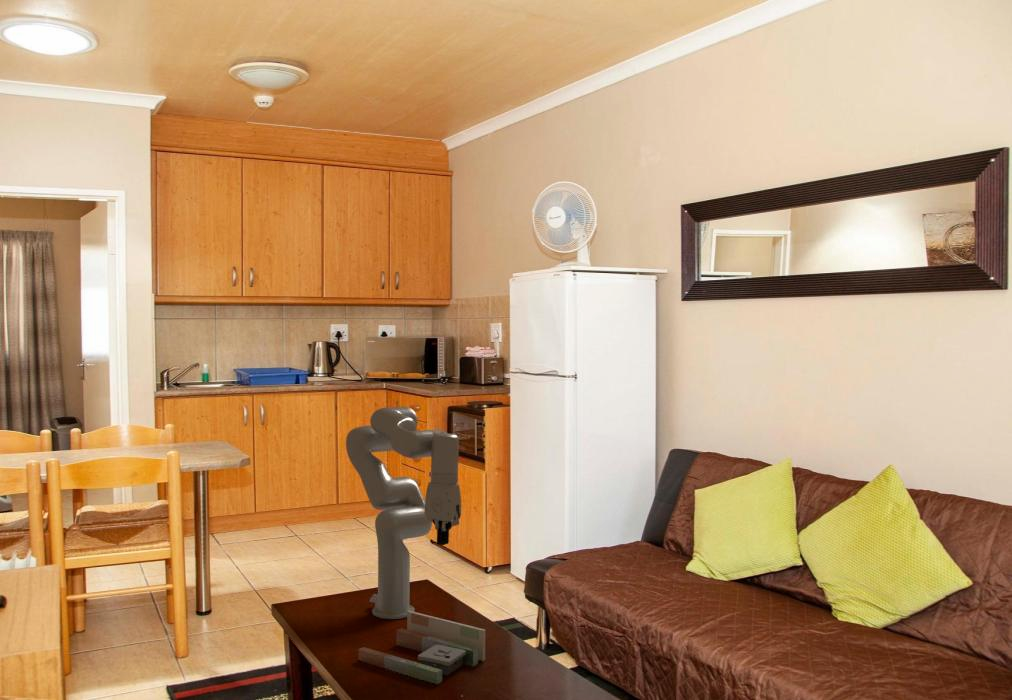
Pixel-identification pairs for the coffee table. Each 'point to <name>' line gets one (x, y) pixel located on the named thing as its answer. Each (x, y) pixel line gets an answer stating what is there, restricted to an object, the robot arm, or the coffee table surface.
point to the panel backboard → (448, 631)
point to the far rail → (426, 642)
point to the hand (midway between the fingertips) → (442, 543)
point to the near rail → (400, 665)
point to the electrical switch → (443, 658)
